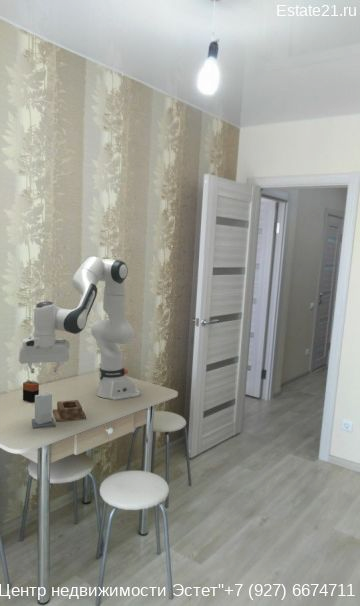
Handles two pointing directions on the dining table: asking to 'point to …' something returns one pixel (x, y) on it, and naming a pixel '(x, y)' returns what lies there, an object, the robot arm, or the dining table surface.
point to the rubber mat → (44, 425)
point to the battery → (30, 390)
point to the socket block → (69, 411)
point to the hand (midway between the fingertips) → (44, 372)
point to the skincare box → (43, 408)
